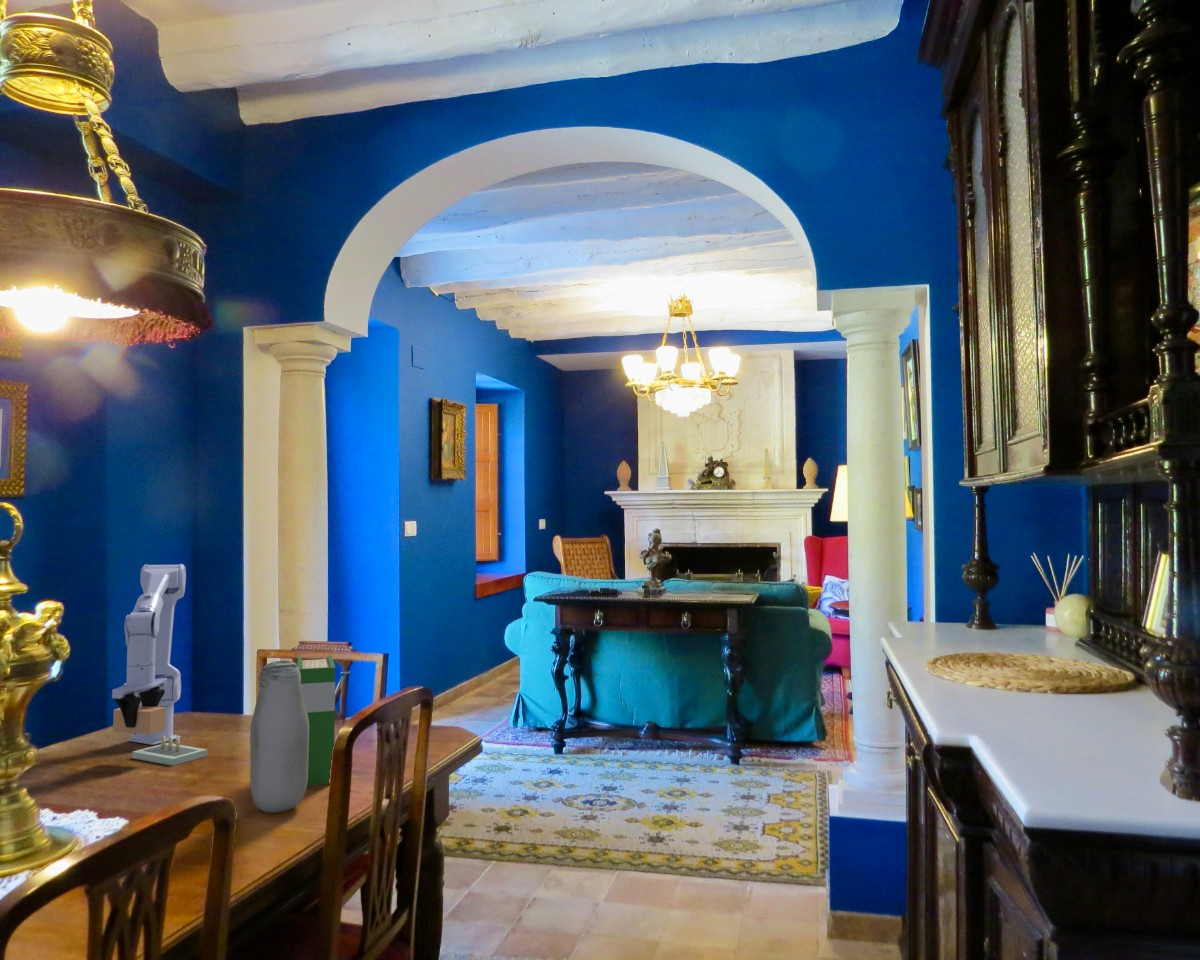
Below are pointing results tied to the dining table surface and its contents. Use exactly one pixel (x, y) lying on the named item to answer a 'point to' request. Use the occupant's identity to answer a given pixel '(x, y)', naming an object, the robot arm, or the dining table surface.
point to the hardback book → (319, 715)
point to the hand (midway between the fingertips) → (139, 724)
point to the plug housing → (142, 720)
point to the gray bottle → (279, 739)
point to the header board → (169, 753)
